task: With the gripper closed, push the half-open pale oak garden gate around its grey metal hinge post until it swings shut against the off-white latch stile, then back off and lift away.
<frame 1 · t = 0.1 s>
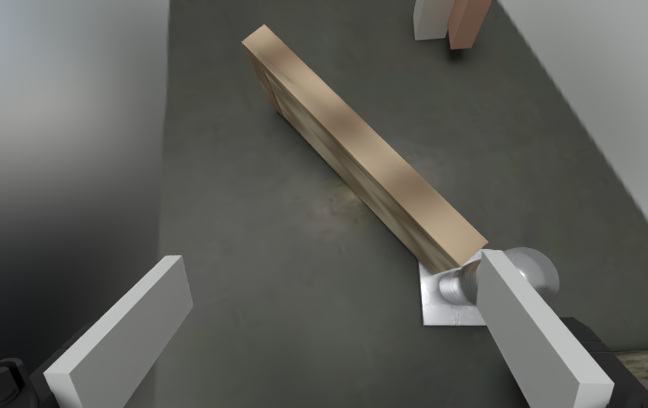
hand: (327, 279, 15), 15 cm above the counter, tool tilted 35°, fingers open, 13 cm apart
hinge post: (455, 286, 29), on the counter
gate: (351, 155, 27), point 6 cm above the counter, hinge at 40.0°
latch stile: (428, 27, 36), on the counter
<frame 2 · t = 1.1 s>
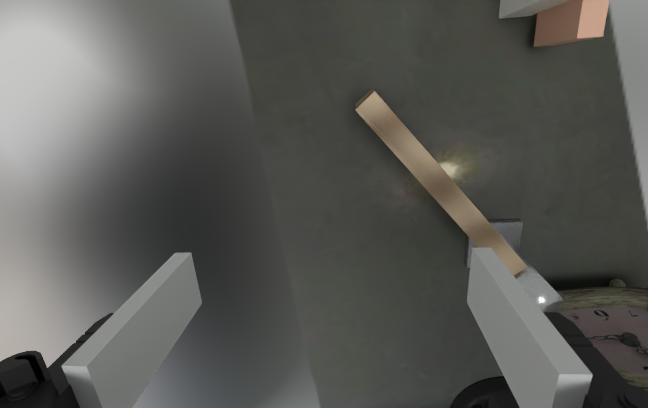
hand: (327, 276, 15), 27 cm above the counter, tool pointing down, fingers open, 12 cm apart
hinge post: (491, 241, 43), on the counter
tabletop clock: (563, 301, 45), on the counter
gate: (435, 179, 35), point 6 cm above the counter, hinge at 40.0°
latch stile: (515, 0, 34), on the counter
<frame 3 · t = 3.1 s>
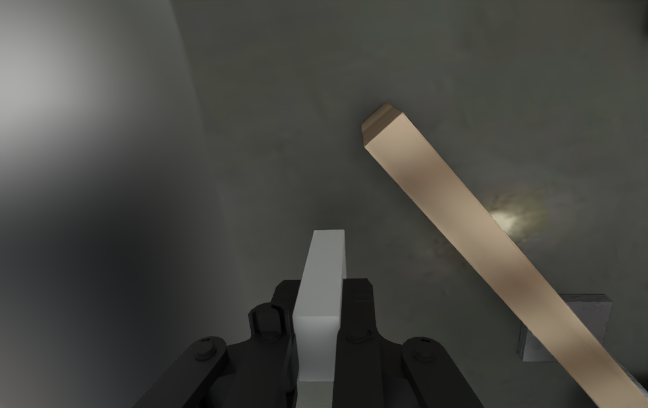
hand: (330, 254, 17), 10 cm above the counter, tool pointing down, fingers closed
hinge post: (559, 324, 29), on the counter
gate: (493, 252, 21), point 6 cm above the counter, hinge at 40.0°
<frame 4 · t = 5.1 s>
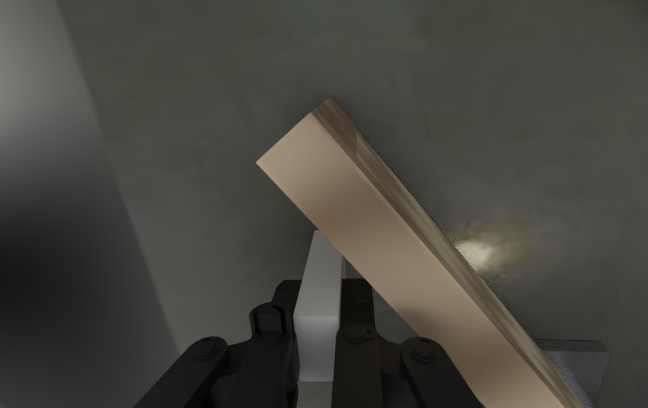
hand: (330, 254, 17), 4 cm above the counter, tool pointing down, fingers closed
hinge post: (545, 374, 24), on the counter
gate: (461, 301, 16), point 6 cm above the counter, hinge at 38.5°, touching gripper
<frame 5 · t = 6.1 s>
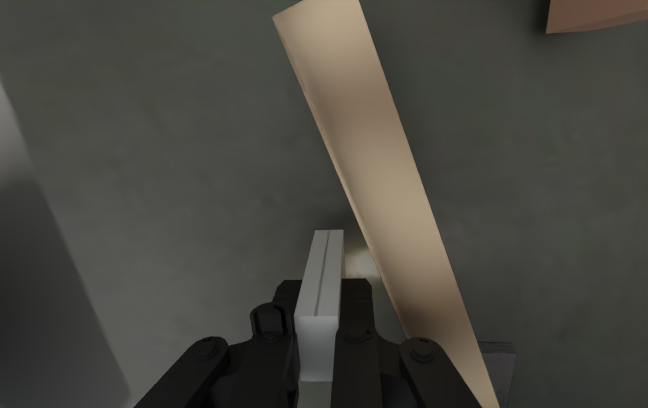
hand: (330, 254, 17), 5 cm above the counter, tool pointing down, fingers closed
hinge post: (461, 375, 25), on the counter
gate: (417, 267, 16), point 6 cm above the counter, hinge at 20.2°, touching gripper
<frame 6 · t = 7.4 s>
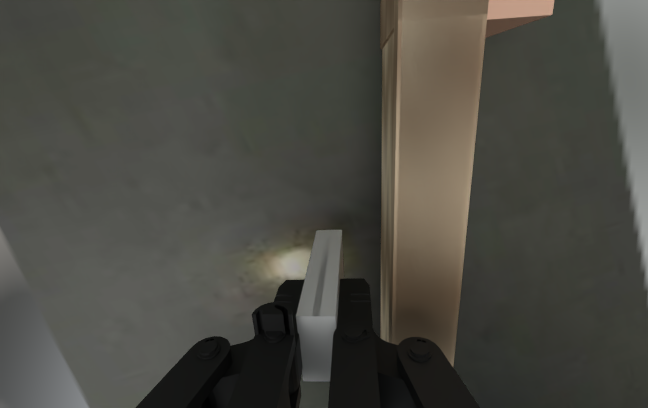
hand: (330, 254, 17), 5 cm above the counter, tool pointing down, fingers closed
gate: (408, 254, 16), point 6 cm above the counter, hinge at -0.2°, touching gripper
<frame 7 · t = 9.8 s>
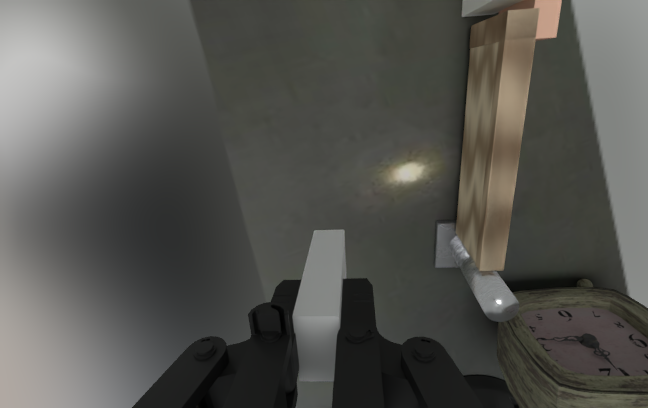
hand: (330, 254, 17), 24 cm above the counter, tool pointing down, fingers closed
hinge post: (459, 242, 43), on the counter
tabletop clock: (533, 301, 45), on the counter
gate: (487, 147, 33), point 6 cm above the counter, hinge at -0.3°
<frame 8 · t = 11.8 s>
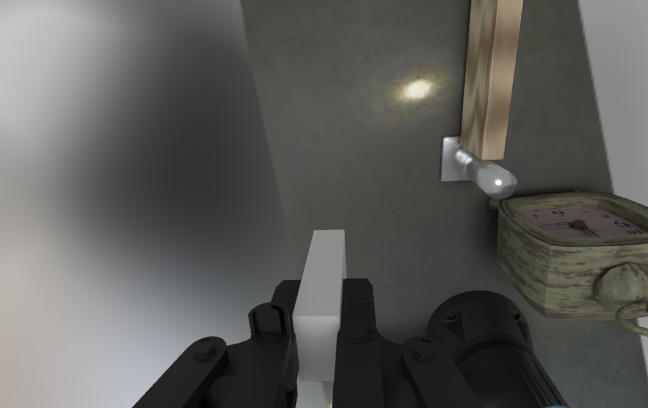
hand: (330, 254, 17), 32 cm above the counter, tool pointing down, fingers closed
hinge post: (463, 157, 47), on the counter
tabletop clock: (529, 215, 49), on the counter
gate: (488, 50, 37), point 6 cm above the counter, hinge at -0.3°
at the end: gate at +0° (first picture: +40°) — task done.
